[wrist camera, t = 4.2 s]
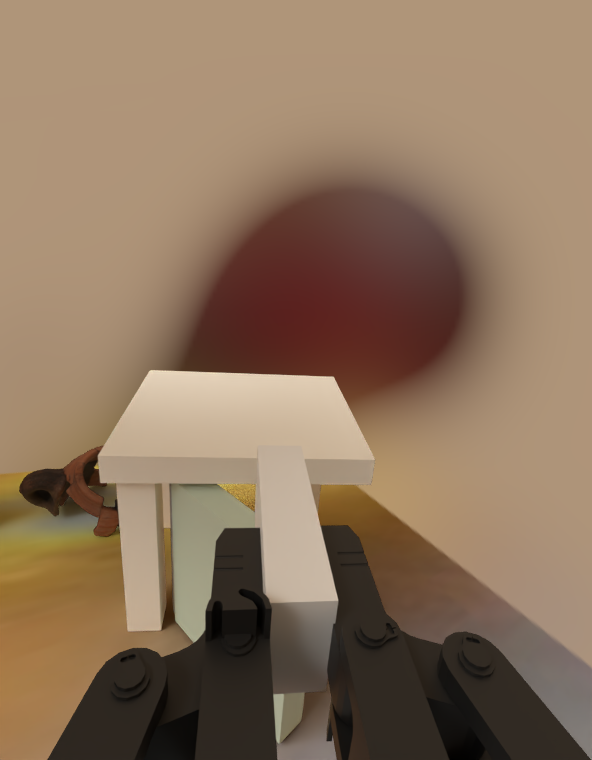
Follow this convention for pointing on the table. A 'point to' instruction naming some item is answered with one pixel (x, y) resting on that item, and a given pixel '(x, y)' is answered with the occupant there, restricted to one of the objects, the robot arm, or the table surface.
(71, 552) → the table surface
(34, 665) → the table surface
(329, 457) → the stool
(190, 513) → the panel
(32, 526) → the table surface
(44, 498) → the brown curved piece
